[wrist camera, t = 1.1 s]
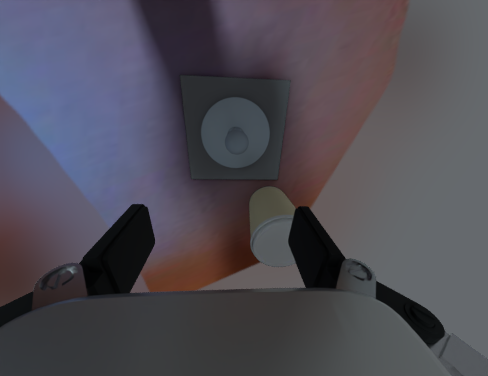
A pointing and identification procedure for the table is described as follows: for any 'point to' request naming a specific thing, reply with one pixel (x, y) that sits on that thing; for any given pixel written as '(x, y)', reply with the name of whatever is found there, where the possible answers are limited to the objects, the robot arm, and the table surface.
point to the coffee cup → (271, 226)
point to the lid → (235, 132)
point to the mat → (218, 88)
